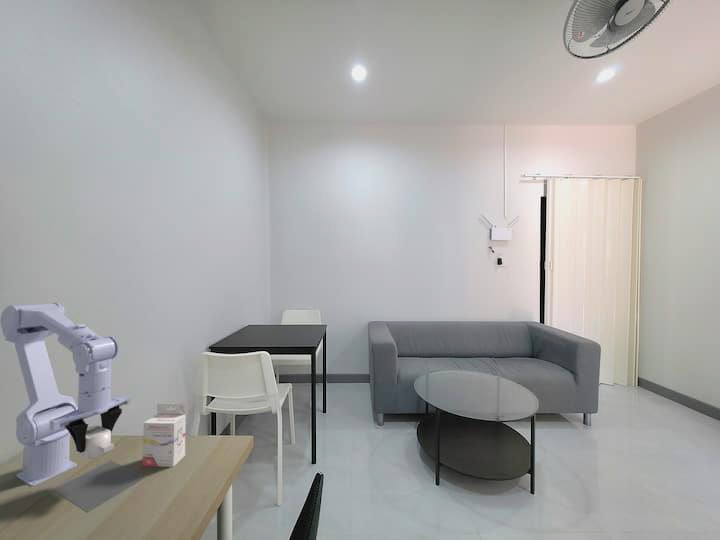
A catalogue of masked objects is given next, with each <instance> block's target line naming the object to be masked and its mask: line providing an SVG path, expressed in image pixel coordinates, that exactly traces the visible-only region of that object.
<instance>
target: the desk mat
mask: <svg viewBox="0 0 720 540" xmlns="http://www.w3.org/2000/svg"><path fill="white" fill-rule="evenodd" d="M146 478H147V476H145V475H143V474H141V473H138V472H137V471H134V470H132V469H131V468H129V467H126V466H123V465H122V464H119V463H117V462H115V461H113V460H109V461H107V462H105V463H103V464H101V465H99V466H96V467H95V468H93V469H91V470H89V471H87V472H85V473H83V474H81V475H79V476H76V477H75V478H73V479H71V480H69V481H67V482H64V483H62V484H61V485H59V486H56V487H55V488H52V491H54V492H55V493H57V494H58V495H59V496H62V497H63V498H65V499H66V500H67V501H69V502H71V503H73V505H75V506H77V507H78V508H80V509H81V510H82V511H85V512H86V513H89V512H90V511H92V510H94V509H96V508H97V507H99V506H101V505H103V504H104V503H106V502H107V501H108V502H109V500H111V499H113V498H114V497H116V496H118V495H119V494H121V493H123V492H124V491H126V490H128V489H129V488H131V487H133V486H134V485H136V484H137V483H138V484H139V482H141V481H142V480H144V479H146Z"/></svg>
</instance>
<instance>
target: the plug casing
mask: <svg viewBox="0 0 720 540" xmlns="http://www.w3.org/2000/svg"><path fill="white" fill-rule="evenodd" d="M111 435H112V433H111V430H108V429H106V428H103V427H102V425H91V426H88V427H87V432H86V447H85V451H84V452H82V453H80V452H78V451H77V450H76V455H79V456H81V457H83V458H85V459H88V460H95V459H99V458H102V457H104V456H106V455H108V454H109V453H110V452H111V450H114V449H115V444H114V443H112V442H111V440H112V439H111V437H112V436H111Z"/></svg>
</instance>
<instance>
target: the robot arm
mask: <svg viewBox="0 0 720 540" xmlns="http://www.w3.org/2000/svg"><path fill="white" fill-rule="evenodd" d="M0 325H1V331H2V333H3V337H4V340H5V341H7V342H10V343H14V347H15V351H16V354H17V359H18V362H19V365H20V370H21V374H22V377H23V381H24V385H25V389H26V392H27V395H28V396H27V397H28V399H29V404H28V406H27V407H25V408H24V409H23V411H21V412H20V413H19V414H18V416H17V417H16V418H15V423H16V429H15V430H16V431H15V435H16V439H17V441H18V443H20V444H21V445H24V446H23V450H22V471H21V472H18V473H17V474H16V477H17V478H18V479H20V480H21V481H23V482H24V483H26V484H27V485H28V486H30V487H34V486H37V485H38V484H41V483H43V482H45V481H47V480H49V479H52V478H54V477H55V476H57V475H61V474H63V473H64V472H66V471H68V470H70V469H72V468H75V467H77V463H76V462H74V461H72V460H70V450H71V449H70V447H71V446H70V445H71V444H70V443H71V437H72V439H73V442H74V445H75V447H76V448H75V449H76V452H77V451H78V452H80V453H82V452H84V451H85V447H86V432H87V427H89V423H86V421H85V419H87V418H91V417H94V416H97V415H100V421H101V427H103V428H106V429H108V430H111V434H112V433H113V429H114V428H115V425H116V424H117V421H118V420H119V418H120V416H121V415H122V414H123V413H122V412H123V408H120V407H121V406H125V405H130V404H132V403H133V402H132V399H133V397H132V395H130V394H125V395H122V396H118V397H114V398H111V397H112V394H111V393H112V362H113V359H115V358H116V357H117V355H118V352H119V345H118V341H117V340H116V339H115V338H114V337H113V336H111V335H110V336H109V335H108V336H100V335H99V334H98V333H96V332H95V331H93V330H92V329H91V328H89V327H87V325H86V324H85V323H81V324H80V323H76V324H75V323H74V322H72V320H71V319H69V318H68V317H67V316H66V310H65V306H63V305H62V304H61V303H59V302H52V303H42V304H41V303H40V304H39V303H37V304H25V305H22V304H21V305H8V306H7V307H5V308H4V309H3V310H2V313H1V316H0ZM54 334H56V335H58V336H57V342H58V343H59V344H60V345H62V346H63V347H65V348H66V349H67V350H68V351H69V352H71V353H72V359H73V362H74V365H75V371H76V373H77V374H78V386H77V389H78V390H77V391H78V393H77V394H78V397H77V404H76V402H75V399H74V398H73V397H72V396H68V395H64V394H60V392H59V389H58V385H57V382H56V377H55V375H54V374H55V373H54V371H53V367H52V363H51V360H50V358H49V357H50V356H49V353H48V351H47V347H46V343H45V339H46V338H48V337H50V336H52V335H54Z"/></svg>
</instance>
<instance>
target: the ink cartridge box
mask: <svg viewBox="0 0 720 540" xmlns="http://www.w3.org/2000/svg"><path fill="white" fill-rule="evenodd" d="M156 405H157V406H156V410H157V414H155V415H154V416H152V417H150V418H149V419H147V420H146V421H144V422H143V439H142V440H143V442H142V467H169V468H170V467H171V468H173V467H175V466H176V465H177V464H178V463H179V462H180V461H181V460H182V459H183V458H184V457H186V419H187V417H186V405H185V404H184V403H159V402H158V403H157V404H156ZM167 408H168V409H167ZM169 408H172V409H169ZM174 408H175V409H174Z"/></svg>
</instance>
